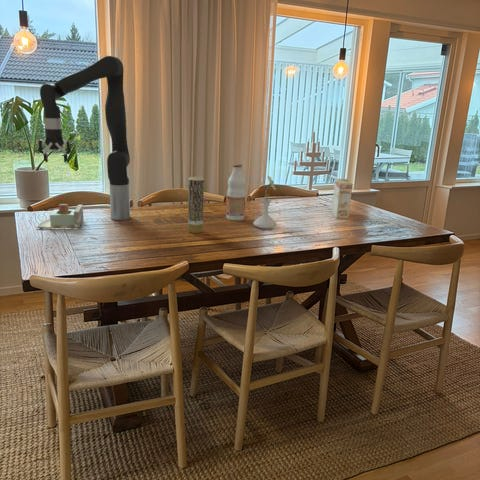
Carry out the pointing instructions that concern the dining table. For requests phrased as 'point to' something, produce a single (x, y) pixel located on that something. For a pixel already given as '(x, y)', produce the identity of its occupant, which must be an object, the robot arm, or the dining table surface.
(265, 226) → the flower in vase
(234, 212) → the fruit juice
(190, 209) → the paper tube
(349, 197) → the coffeecake box
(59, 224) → the socket block
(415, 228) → the dining table surface
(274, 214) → the dining table surface
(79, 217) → the backstop board
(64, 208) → the dowel
